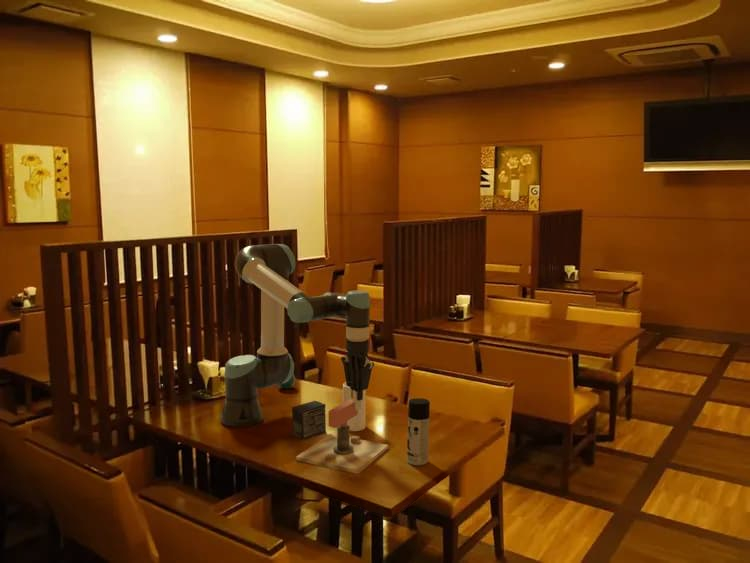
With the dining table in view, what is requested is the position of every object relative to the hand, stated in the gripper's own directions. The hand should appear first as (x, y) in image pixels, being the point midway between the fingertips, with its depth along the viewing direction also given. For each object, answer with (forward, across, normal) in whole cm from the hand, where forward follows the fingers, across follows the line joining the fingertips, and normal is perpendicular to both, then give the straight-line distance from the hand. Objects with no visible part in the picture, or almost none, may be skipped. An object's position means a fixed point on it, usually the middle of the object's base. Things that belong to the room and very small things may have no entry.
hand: (356, 408), depth 209 cm
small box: (+14, +21, +2) cm, 26 cm away
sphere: (+14, +67, -26) cm, 74 cm away
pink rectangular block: (+4, 0, +6) cm, 7 cm away
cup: (+14, +15, -14) cm, 24 cm away
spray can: (+14, -21, -6) cm, 26 cm away
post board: (+14, 0, +6) cm, 15 cm away
